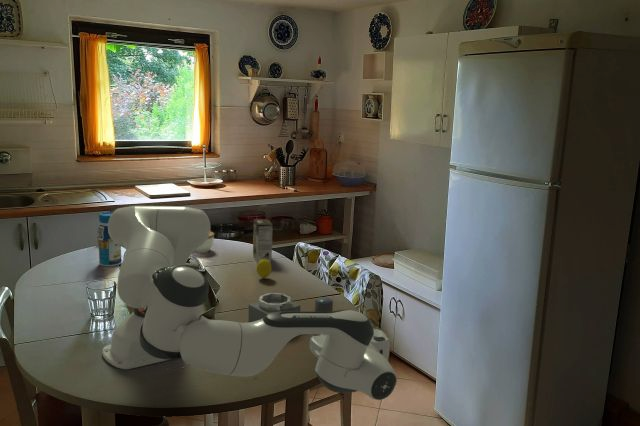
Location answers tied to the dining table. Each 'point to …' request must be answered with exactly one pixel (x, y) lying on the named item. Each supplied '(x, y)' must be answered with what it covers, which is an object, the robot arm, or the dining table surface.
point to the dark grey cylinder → (323, 306)
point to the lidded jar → (206, 244)
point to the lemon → (264, 268)
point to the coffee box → (262, 239)
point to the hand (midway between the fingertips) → (338, 330)
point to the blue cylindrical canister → (107, 243)
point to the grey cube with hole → (271, 306)
